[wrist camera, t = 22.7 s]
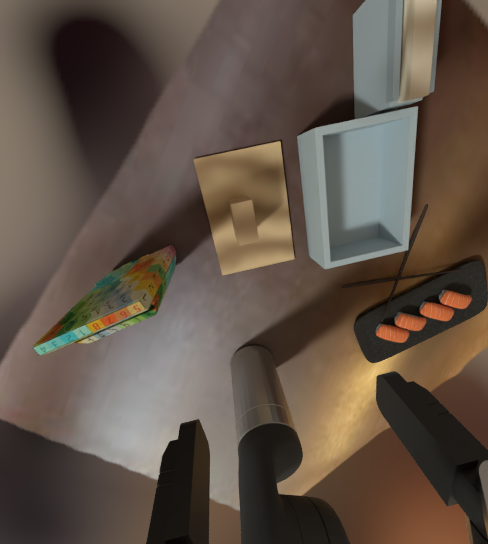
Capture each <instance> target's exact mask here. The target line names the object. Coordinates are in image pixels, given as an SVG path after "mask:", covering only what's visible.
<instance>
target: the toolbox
mask: <svg viewBox="0 0 488 544" xmlns="http://www.w3.org/2000/svg"><path fill="white" fill-rule="evenodd" d="M441 4H442V0H437V7H436V19H435V32H434V44H433V56H432V68H431V80H430V92H429V93H431V92H434V83H435V72H436V61H437V49H438V38H439V27H440V15H441ZM402 16H403V0H366V1H365V2H364V3H363V4H362V5H361V6H360V8H359V9H358V10H357V11H356V12H355V13H354V15H353V54H354V111H355V120H350V121H345V122H341V123H336V124H331V125H326V126H322V127H317V128H314V129H311V130H309V131H307V132H305V133H303V134H301V135H299V136H297V139H298V149H299V159H300V169H301V179H302V190H303V200H304V210H305V220H306V230H307V240H308V250H309V256H310V257H311V258H312V259H313V260H314V261H316V262H317V263H318V264H319V265H320V266H322V267H323V268H324V269H328V268H333V267H337V266H341V265H346V264H350V263H354V262H359V261H363V260H367V259H371V258H376V257H380V256H384V255H389V254H393V253H397V252H402V251H406V250H408V246H409V231H410V217H411V202H412V188H413V173H414V159H415V144H416V130H417V115H418V106H416V107H412V108H407V109H402V110H397V111H393V110H396V109H399V108H401V107H404V106H407V105H410V104H412V103H415V102H418V101H421V100H422V98H423V97H421V98H419V99H416V100H412V101H407V102H402V103H398V99H399V86H400V63H401V39H402ZM390 111H393V112H390Z"/></svg>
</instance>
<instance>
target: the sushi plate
mask: <svg viewBox="0 0 488 544" xmlns="http://www.w3.org/2000/svg"><path fill="white" fill-rule="evenodd" d="M427 208H428V204H426V205H425V207H424V210H423V212H422V214H421V216H420V218H419V221H418V223H417V225H416V227H415V229H414V232H413V234H412V237H411V240H410V242H409V246H408V250H407V251H406V254H405V257H404V259H403V262H402V265H401V268H400V271H399V273H398V276H397V278H388V279H379V280H371V281H365V282H359V283H353V284H347V285H342V288H345V287H352V286H359V285H366V284H373V283H380V282H387V281H393V280H396V281H395V284H394V287H393V289H392V292H391V295H390V298H389V300H388V302H386V303H384V304H382V305H380V306H378V307H376V308H374V309H373V310H371V311H369V312H367V313H365V314H364V315H362V316H361V317H359V318H358V319H357V320H356V321H355V323H354V331H355V335H356V337H357V340H358V343H359V345H360V347H361V350H362V352H363V354H364V356H365V357H366V359H367V360H368V361H369V362H371V363H376V362H380V361H382V360H385V359H387V358H389V357H391V356H394V355H396V354H398V353H400V352H402V351H404V350H406V349H408V348H410V347H412V346H414V345H416V344H418V343H421V342H423V341H425V340H427V339H429V338H431V337H433V336H435V335H437V334H439V333H441V332H443V331H445V330H447V329H449V328H451V327H454V326H456V325H458V324H460V323H462V322H464V321H466V320H468V319H470V318H472V317H474V316H475V315H477V314H479V313H480V312H481V311H483V310H484V309H485V307H486V306H487V301H488V292H487V283H486V275H485V270H484V266H483V264H482V263H481V262H480V261H478V260H474V261H470V262H467V263H464V264H462V265H460V266H458V267H456V268H454V269H452V270H450V271H444V272H436V273H429V274H421V275H413V276H405V277H400V276H401V273H402V270H403V268H404V265H405V263H406V261H407V258H408V256H409V253H410V251H411V248H412V246H413V243H414V241H415V238H416V236H417V233H418V231H419V228H420V226H421V223H422V221H423V218H424V216H425V213H426V210H427ZM443 273H444V274H443ZM436 274H442V275H440V276H438V277H436V278H434V279H432V280H430V281H428V282H426V283H424V284H422V285H420V286H418V287H416V288H414V289H412V290H410V291H408V292H406V293H404V294H402V295H400V296H398V297H396V298H394V299H392V296H393V293H394V291H395V288H396V286H397V283H398V281H399V280H400V279H407V278H414V277H421V276H429V275H436ZM391 299H392V300H391Z"/></svg>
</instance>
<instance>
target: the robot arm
mask: <svg viewBox="0 0 488 544" xmlns="http://www.w3.org/2000/svg"><path fill="white" fill-rule="evenodd" d="M231 376H232V388H233V399H234V411H235V422H236V432H237V443H238V455H239V498H240V519H241V544H350V542H349V540H348V537H347V535H346V532H345V530H344V527H343V525H342V523H341V521H340V519H339V517H338V516H337V514H336V512H335V511H334V509H333V508H332V507H331V506H330V505H329V504H328V503H327V502H326V501H324V500H322V499H319V498H314V497H306V496H295V495H282V494H278V490H277V483H278V482H281V481H283V480H285V479H287V478H288V477H290V476H291V475H292V474H293V473H294V472H295V471H296V470H297V469H298V468H299V466H300V464H301V462H302V457H303V452H302V447H301V444H300V441H299V438H298V435H297V432H296V429H295V426H294V423H293V419H292V416H291V414H290V410H289V407H288V404H287V401H286V398H285V395H284V392H283V389H282V385H281V382H280V379H279V376H278V373H277V370H276V367H275V363H274V360H273V357H272V355H271V353H270V352H269V351H268V350H267V349H266V348H264V347H261V346H247V347H244V348H242V349H240V350H239V351H237V352H236V353H235V354H234V356H233V357H232V359H231ZM376 401H377V404H378V407H379V409H380V411H381V413H382V415H383V416H384V418H385V419H386V420H387V422H388V423H389V425H390V426H391V427H392V429H393V430H394V432H395V433H396V435H397V436H398V437H399V439H400V440H401V442H402V443H403V444H404V446H405V447H406V449H407V450H408V452H409V453H410V454H411V456H412V457H413V459H414V460H415V461H416V463H417V464H418V466H419V467H420V469H421V470H422V471H423V473H424V474H425V476H426V477H427V478H428V480H429V481H430V483H431V484H432V485H433V487H434V488H435V490H436V491H437V492H438V494H439V495H440V497H441V498H442V500H443V501H444V502H445V504H446V505H447V506H450V505H454V504H459V505H460V507H461V508H462V509H463V510H464V512H465V513H466V523H467V530H468V537H469V543H470V544H488V450H487V449H486V448H485V447H484V446H483V445H482V444H481V443H480V442H479V441H478V440H477V439H476V438H475V437H474V436H473V435H472V434H471V433H470V432H469V431H468V430H467V429H466V428H465V427H464V426H463V425H462V424H461V423H460V422H459V421H458V420H457V419H456V418H455V417H454V416H453V415H452V414H450V413H449V411H448V410H447V409H446V408H445V407H444V406H443V405H442V404H440V403H439V401H438V400H437V399H436V398H435V397H434V396H433V395H432V394H431V393H430V392H429V391H428V390H427V389H425V388H423V387H422V386H420V385H418V384H417V383H415V382H413V381H412V382H408V383H407V382H406V381H405V380H404V379H403V378H402V377H401V375H400V374H398V373H397V372H395V371H393V372H389V373H385V374H381V375H378V376H377V385H376ZM209 485H210V451H209V444H208V441H207V438H206V435H205V433H204V430H203V428H202V425H201V423H200V421H199V419H197V420H193V421H189V422H185V423H182V424H181V425H180V429H179V436H178V439H177V440H173V441H170V442H169V444H168V446H167V448H166V450H165V452H164V454H163V456H162V461H161V467H160V475H159V478H158V483H157V489H156V494H155V500H154V505H153V510H152V516H151V522H150V527H149V532H148V538H147V542H146V544H209Z"/></svg>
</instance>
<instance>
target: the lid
mask: <svg viewBox="0 0 488 544" xmlns="http://www.w3.org/2000/svg"><path fill="white" fill-rule="evenodd" d="M193 160H194V164H195V168H196V172H197V176H198V180H199V184H200V188H201V192H202V196H203V199H204V203H205V207H206V211H207V215H208V219H209V223H210V227H211V231H212V235H213V239H214V243H215V247H216V251H217V255H218V259H219V263H220V267H221V271H222V275H227V274H231V273H235V272H240V271H244V270H248V269H253V268H257V267H262V266H266V265H270V264H275V263H279V262H283V261H288V260H292V259H294V250H293V242H292V234H291V225H290V217H289V209H288V200H287V192H286V184H285V176H284V167H283V159H282V151H281V142H280V141H278V142H274V143H269V144H264V145H259V146H254V147H250V148H245V149H240V150H235V151H230V152H226V153H221V154H216V155H211V156H207V157H202V158H197V159H193Z"/></svg>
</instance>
